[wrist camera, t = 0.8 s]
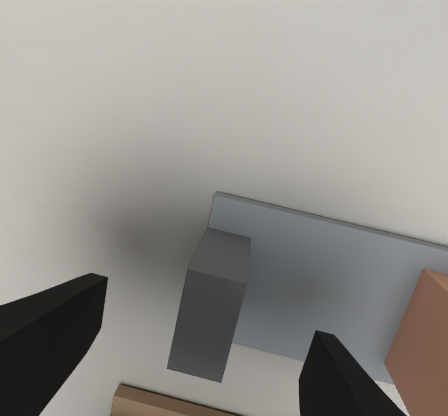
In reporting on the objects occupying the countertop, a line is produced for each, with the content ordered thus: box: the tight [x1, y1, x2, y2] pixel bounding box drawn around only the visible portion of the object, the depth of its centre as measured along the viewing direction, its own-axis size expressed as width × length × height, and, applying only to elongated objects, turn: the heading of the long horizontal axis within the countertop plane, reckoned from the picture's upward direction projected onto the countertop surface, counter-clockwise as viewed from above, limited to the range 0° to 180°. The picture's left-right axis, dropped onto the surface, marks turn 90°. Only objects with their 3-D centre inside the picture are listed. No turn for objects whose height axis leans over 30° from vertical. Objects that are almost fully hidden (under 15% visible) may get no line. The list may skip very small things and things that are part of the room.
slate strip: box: [167, 192, 448, 385], centre depth 14 cm, size 7×18×5 cm, turn 78°
